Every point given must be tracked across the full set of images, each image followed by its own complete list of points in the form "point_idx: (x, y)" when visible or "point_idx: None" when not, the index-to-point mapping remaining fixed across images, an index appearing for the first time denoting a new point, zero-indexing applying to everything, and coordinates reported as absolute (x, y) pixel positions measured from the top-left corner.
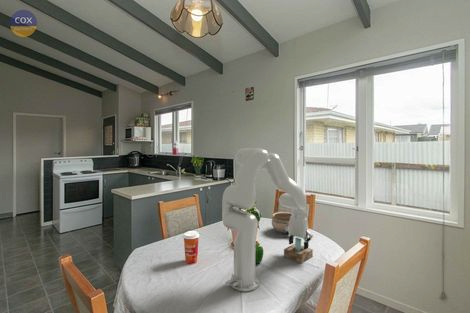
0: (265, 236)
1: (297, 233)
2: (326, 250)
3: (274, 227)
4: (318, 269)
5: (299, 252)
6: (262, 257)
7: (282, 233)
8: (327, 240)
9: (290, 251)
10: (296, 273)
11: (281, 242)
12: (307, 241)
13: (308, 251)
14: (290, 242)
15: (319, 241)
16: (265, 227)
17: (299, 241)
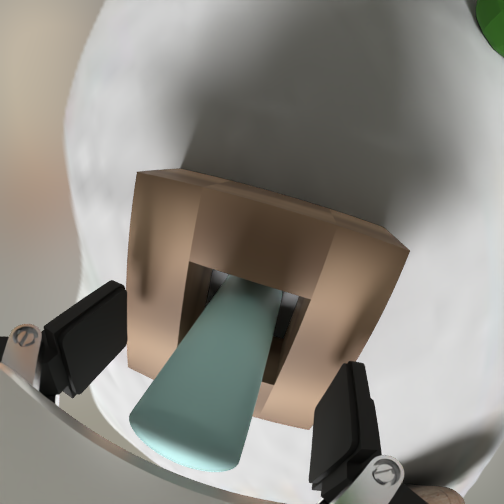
0: (494, 428)
1: (29, 497)
2: None
3: (454, 493)
4: (71, 158)
5: (187, 246)
6: (491, 17)
7: (407, 485)
8: None
9: (305, 214)
10: (174, 4)
11: (420, 429)
12: (19, 340)
13: (130, 317)
14: (344, 383)
15: (214, 479)
16: (471, 477)
17: (153, 383)
